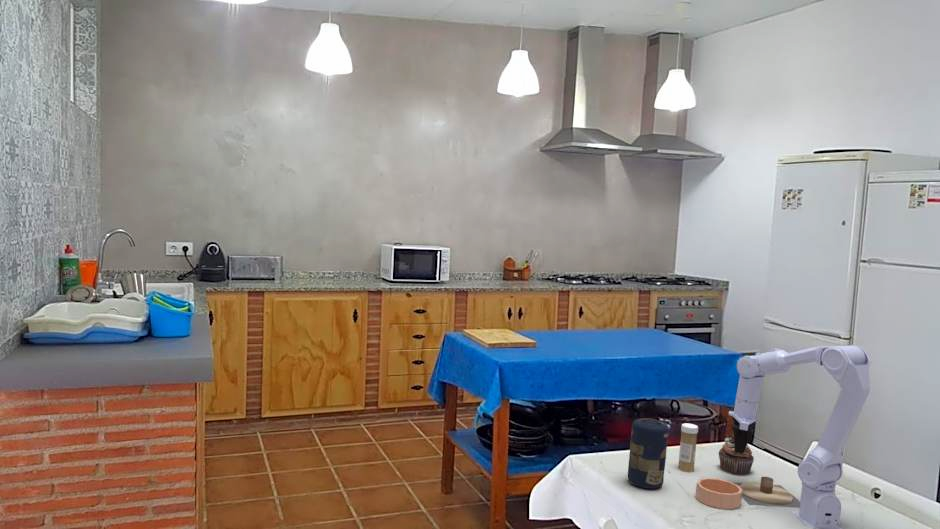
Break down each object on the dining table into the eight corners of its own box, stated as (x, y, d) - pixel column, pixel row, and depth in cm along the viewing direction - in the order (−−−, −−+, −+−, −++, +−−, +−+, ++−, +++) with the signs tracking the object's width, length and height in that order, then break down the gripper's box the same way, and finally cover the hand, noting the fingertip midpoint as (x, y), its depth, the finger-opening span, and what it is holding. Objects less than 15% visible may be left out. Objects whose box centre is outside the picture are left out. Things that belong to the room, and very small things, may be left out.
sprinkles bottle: (697, 472, 203) (701, 426, 202) (686, 475, 200) (691, 428, 199) (684, 467, 207) (688, 421, 206) (673, 469, 204) (678, 423, 203)
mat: (807, 510, 181) (807, 507, 181) (749, 506, 180) (749, 504, 180) (780, 487, 196) (780, 485, 196) (726, 484, 195) (726, 482, 195)
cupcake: (758, 479, 201) (761, 444, 201) (723, 476, 201) (727, 442, 201) (745, 467, 211) (748, 434, 210) (712, 464, 211) (715, 431, 210)
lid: (801, 506, 182) (803, 489, 182) (751, 503, 181) (753, 486, 181) (778, 486, 195) (780, 471, 194) (731, 483, 194) (733, 468, 194)
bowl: (747, 513, 177) (748, 495, 176) (704, 510, 176) (706, 493, 176) (730, 496, 187) (731, 479, 187) (690, 493, 187) (691, 477, 187)
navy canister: (633, 474, 198) (639, 411, 196) (667, 483, 193) (673, 418, 192) (622, 484, 189) (627, 418, 188) (657, 494, 185) (663, 426, 183)
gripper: (732, 389, 199) (724, 435, 201) (731, 403, 186) (722, 452, 187) (759, 394, 197) (751, 441, 198) (759, 409, 183) (751, 459, 185)
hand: (739, 447), depth 193 cm, fingers open, 7 cm apart
